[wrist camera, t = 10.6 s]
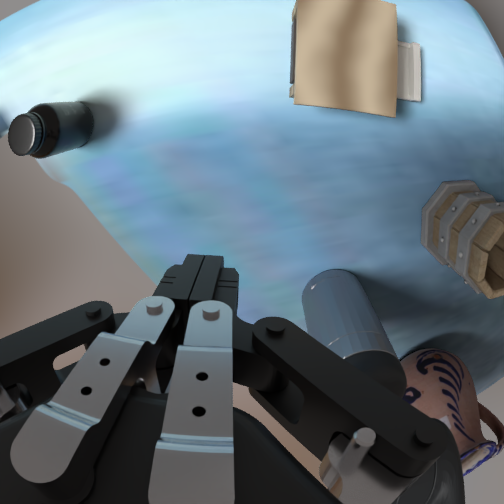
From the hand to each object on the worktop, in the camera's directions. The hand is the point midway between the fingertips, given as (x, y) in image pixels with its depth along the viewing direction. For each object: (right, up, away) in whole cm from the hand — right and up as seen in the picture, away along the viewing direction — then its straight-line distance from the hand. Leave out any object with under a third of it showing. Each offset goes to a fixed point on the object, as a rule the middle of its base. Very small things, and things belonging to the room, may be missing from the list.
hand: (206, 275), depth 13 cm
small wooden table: (+12, +25, +18) cm, 33 cm away
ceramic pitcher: (+35, -21, +38) cm, 56 cm away
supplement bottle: (-23, +19, +22) cm, 37 cm away
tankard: (+36, +4, +27) cm, 45 cm away
